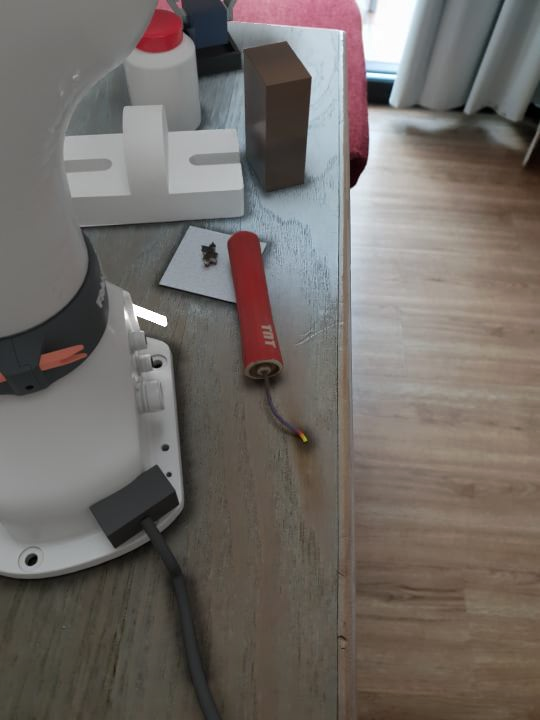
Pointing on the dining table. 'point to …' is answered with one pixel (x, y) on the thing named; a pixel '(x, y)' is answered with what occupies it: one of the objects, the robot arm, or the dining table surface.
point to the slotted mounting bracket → (153, 172)
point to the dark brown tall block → (276, 114)
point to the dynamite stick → (255, 313)
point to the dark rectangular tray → (217, 58)
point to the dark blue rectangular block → (207, 22)
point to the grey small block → (202, 265)
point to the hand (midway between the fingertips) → (205, 23)
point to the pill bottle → (166, 72)
